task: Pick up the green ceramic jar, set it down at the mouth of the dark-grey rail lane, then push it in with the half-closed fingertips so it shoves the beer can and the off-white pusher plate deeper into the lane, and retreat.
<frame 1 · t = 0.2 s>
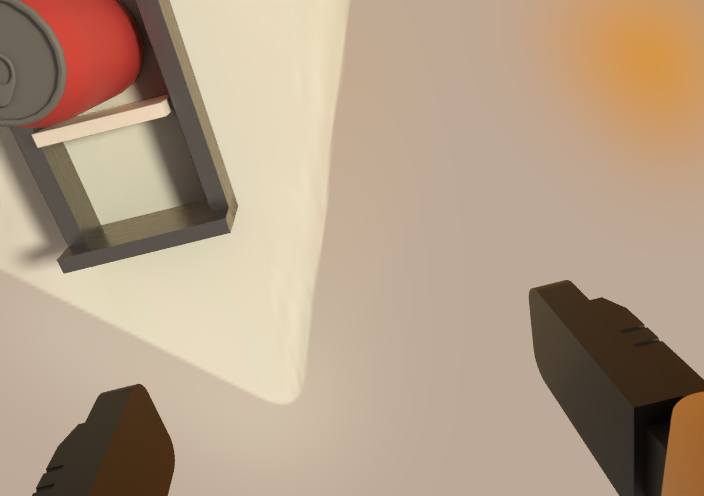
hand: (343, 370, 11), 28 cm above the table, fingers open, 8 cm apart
beer can: (92, 42, 34), resting in lane
lane: (118, 110, 36), on the table
pusher: (109, 118, 34), point 2 cm above the table, slide at 1.5 cm
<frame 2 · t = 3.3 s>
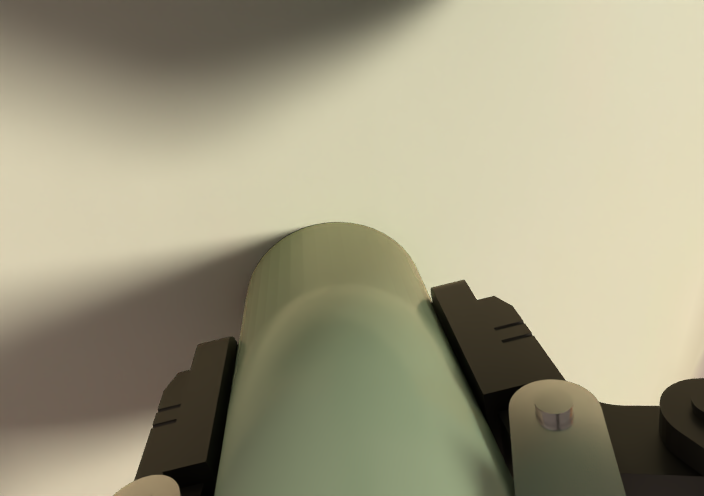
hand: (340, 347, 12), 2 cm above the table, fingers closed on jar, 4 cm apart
jar: (335, 304, 14), on the table, touching gripper
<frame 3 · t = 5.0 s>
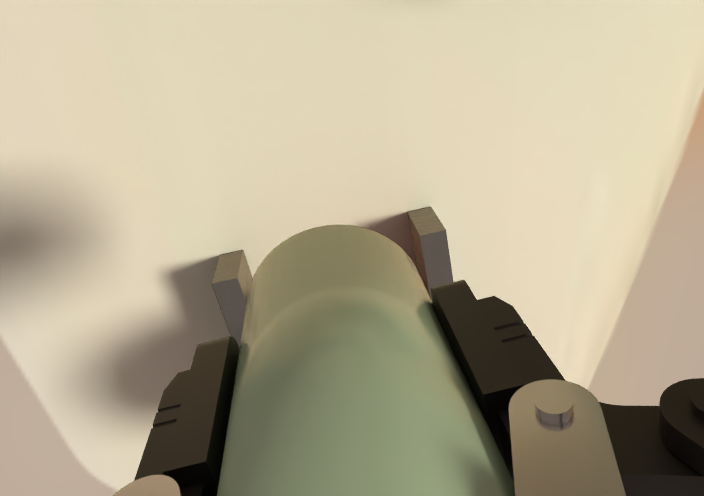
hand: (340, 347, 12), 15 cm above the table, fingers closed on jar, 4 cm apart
jar: (336, 306, 14), point 14 cm above the table, touching gripper
lane: (362, 381, 32), on the table
when the fingers open (3 cm above the table, at t = 6.8 s): jar stays where it is, on the table.
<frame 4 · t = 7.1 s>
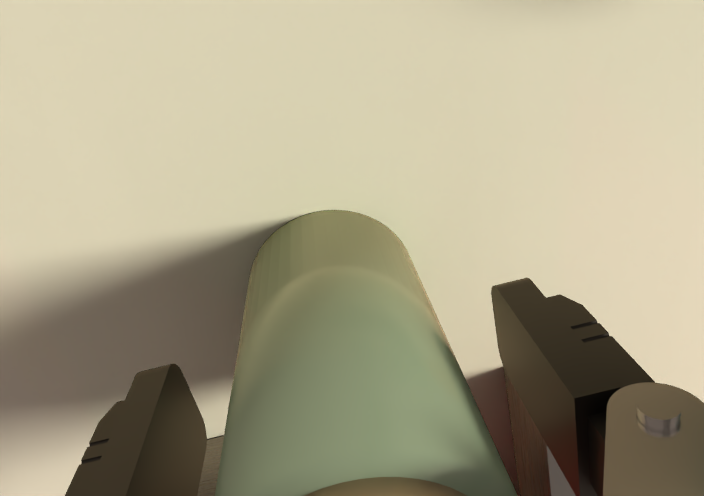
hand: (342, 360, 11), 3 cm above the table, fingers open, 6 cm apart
jar: (332, 287, 14), on the table
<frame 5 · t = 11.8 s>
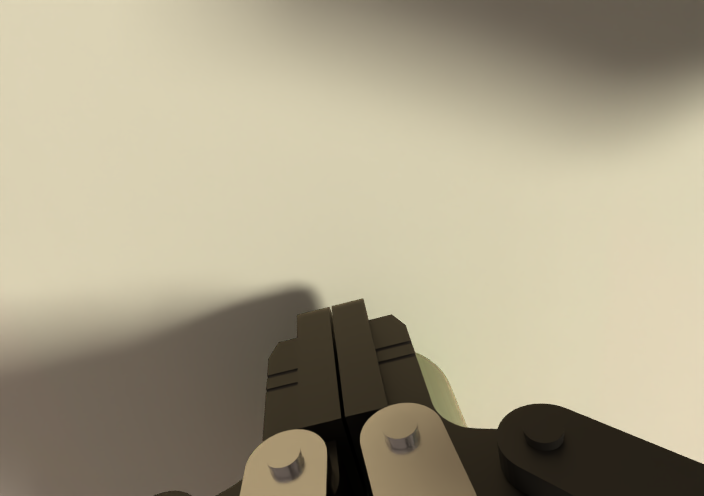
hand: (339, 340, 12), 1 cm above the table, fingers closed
jar: (373, 414, 15), on the table, touching gripper
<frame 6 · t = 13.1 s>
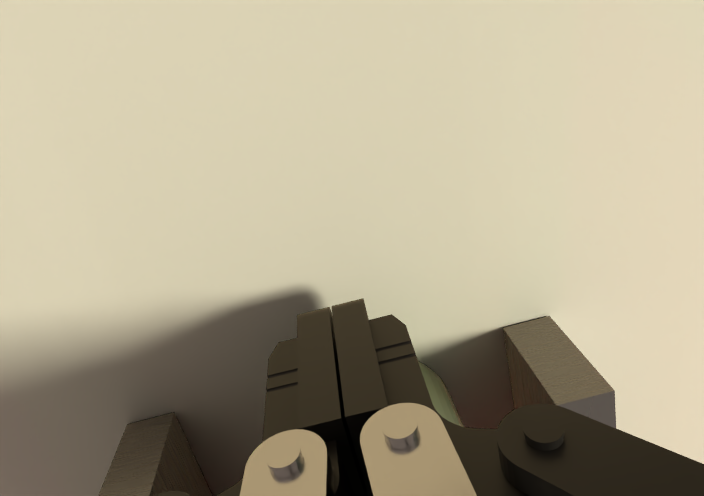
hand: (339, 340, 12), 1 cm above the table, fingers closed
jar: (371, 423, 14), on the table, touching beer can, gripper
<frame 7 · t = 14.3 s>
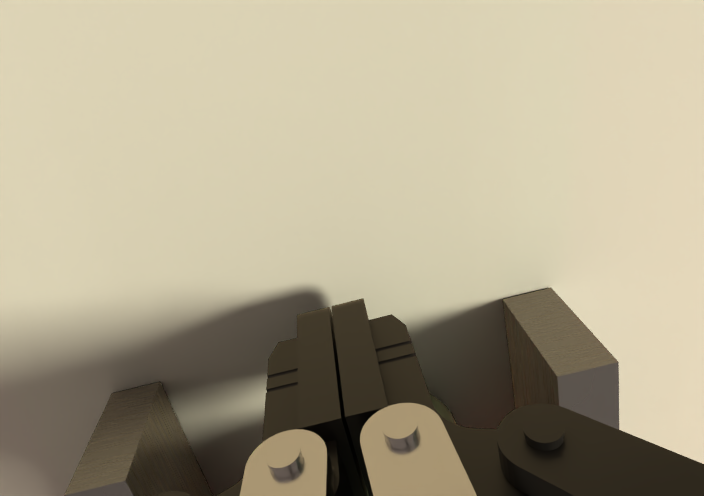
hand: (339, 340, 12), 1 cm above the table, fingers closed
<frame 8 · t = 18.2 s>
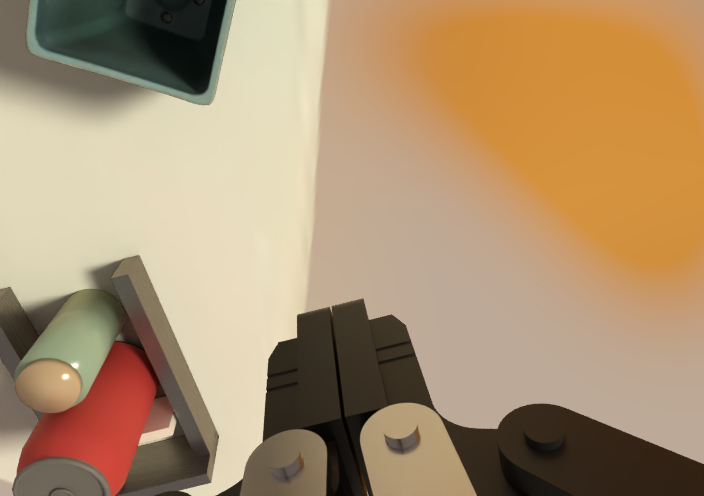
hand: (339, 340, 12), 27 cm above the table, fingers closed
beer can: (119, 370, 44), resting in lane
jar: (94, 314, 41), on the table
lane: (120, 377, 44), on the table
pusher: (128, 424, 43), point 2 cm above the table, slide at 4.5 cm
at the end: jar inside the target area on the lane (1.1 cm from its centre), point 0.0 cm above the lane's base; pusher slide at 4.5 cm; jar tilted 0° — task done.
